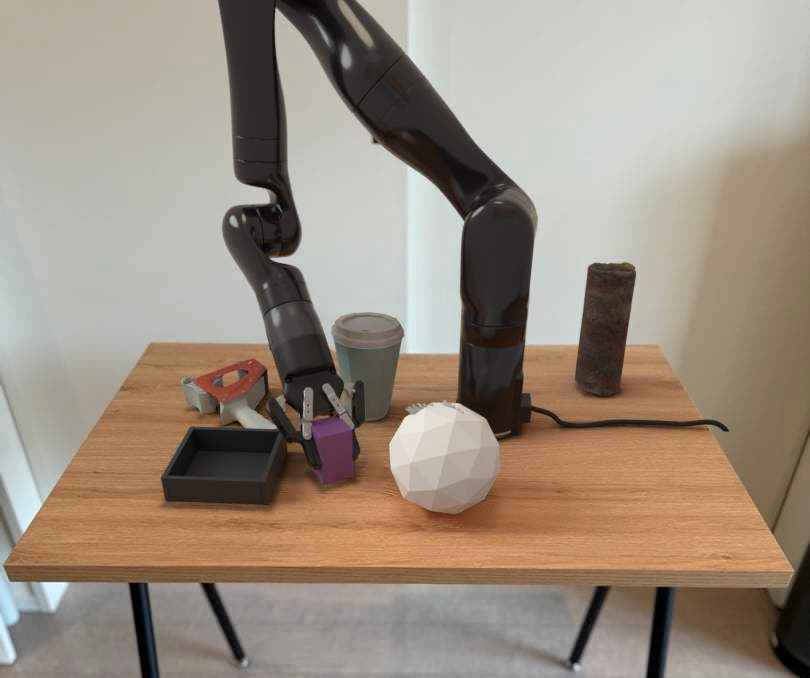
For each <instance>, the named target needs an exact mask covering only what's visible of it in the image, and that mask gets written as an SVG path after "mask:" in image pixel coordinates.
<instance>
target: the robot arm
mask: <svg viewBox="0 0 810 678" xmlns="http://www.w3.org/2000/svg"><path fill="white" fill-rule="evenodd" d="M217 3H218V9H219V17H220V23H221V29H222V36H223V42H224V43H223V45H224V50H225V59H226V66H227V77H228V88H229V101H230V102H229V104H230V105H229V106H230V125H231V126H230V128H231V143H232V144H231V148H232V150H231V151H232V168H233V173H234V174H233V175H234V177H235V179H236V180H237V181H238V182H239V183H241V184H243V185H245V186H248V187H252V188H257V189H262V190H266V192H267V195H268V197H269V202H267V203H266V202H265V203H248V204H247V203H246V204H236V205H233V206H231V207H229V208H228V209H227V210H226V211H225V213H224V215H223V217H222V221H221V233H222V238H223V242H224V244H225V247H226V249H227V251H228V253H229V255H230V256H231V258H232V259H233V261H234V262H235V264H236V265H237V267H238V269H239V270H240V271H241V273H242V275H243V276H244V278H245V279H246V281H247V283H248V284H249V286H250V287H251V289H252V291H253V293H254V295H255V298H256V301H257V305H258V308H259V310H260V314H261V317H262V321H263V324H264V329H265V335H266V339H267V342H268V348H269V350H270V352H271V356H272V357H273V360H274V364H275V368H276V370H277V373H278V377H279V380H280V383H281V386H282V393H281V395H279V396H277V397H275V398H274V397H271V398H269V399H268V401H267V403H266V405H265V411H266V413H267V414H268V416H269V418H270V420H271V422H272V423H273V424H274V425H276V427H277V428H278V430H279V431H280V433H281V434H282V436H283V437H284V439H285V440H286V444H293V443H295V444H299V445H301V447H302V450H303V453H304V456H305V459H306V462H307V465H308V466H309V467H310V468H311V467H314V470H315V471H316V470H320V469H321V468H322V467H323V464H322V461H321V459H320V456H319V452H318V449H317V446H316V443H315V440H314V439H312V430H311V426H312V422H313V421H314V420H315V419H316V418H318V417H333V416H337V417H338V418H340V419H343V420H344V422H345V423H346V424H347V425H348V426H349V427H350V428H351V430H352V443H353V462H356V461H357V460H358V459H359V455H360V454H361V446H360V444H359V439H358V438H357V435H356V429H359V428H360V427H361V426H362V424H363V423H364V422H366V421H365V398H364V383H363V382H362V381H361V380H358V381H356V383H351V382H343V380H342V379H341V378H340V374H339V373H338V372H337V367H336V365H335V361H334V358H333V356H332V352H331V349H330V346H329V343H328V340H327V337H326V334H325V332H324V327H323V325H322V321H321V319H320V316H319V314H318V312H317V311H316V308H315V306H314V303H313V300H312V296H311V294H310V291H309V287H308V284H307V281H306V278H305V276H304V273H303V272H302V270H301V269H300V268H299V267H297V266H295V265H292V264H288V263H284V262H278V261H275V260H273V259H279V258H288V257H291V256H293V255H294V254H295V253H296V252H297V251H298V250H299V248H300V246H301V244H302V243H301V242H302V239H303V227H302V223H301V218H300V214H299V211H298V208H297V205H296V200H295V197H294V192H293V188H292V183H291V178H290V171H289V136H288V135H289V134H288V133H289V132H288V116H287V115H288V113H287V104H286V99H285V92H284V87H283V82H282V77H281V73H280V67H279V61H278V55H277V43H276V10H278V11H279V12H280V13H281V14H282V16H283V17H285V19H286V20H287V21H288V22H289V23H290V25H292V26H293V27H294V28H295V29H296V31H297V32H299V35H301V36H302V37H303V39H304V40H305V42H306V43H307V45H308V47H310V49H311V51H312V52H313V55H314V56H315V58H316V59H317V61H318V63H319V65H320V67H321V68H322V70H323V72H324V74H325V76H326V78H327V80H328V82H329V83H330V85H331V86H332V88H333V90H334V91H335V93H336V94H337V96H338V97H339V99H340V100H341V102H342V103H343V104H344V105H345V107H346V108H347V109H348V111H349V112H350V113H351V114H352V115H353V116H354V117H355V119H356V120H357V121H358V123H360V124H361V126H363V128H364V130H366V131H367V132H368V133H369V134H370V136H371V137H372V138H373V139H374V140H375V141H376V142H378V144H379V145H381V147H383V149H385V150H386V151H387V152H388V153H390V154H391V155H393V156H394V157H395V158H397V159H398V160H399V161H401V163H403V164H405V165H406V166H408V167H409V168H411V169H412V170H414V171H415V172H417V173H419V174H420V175H421V176H422V177H424V178H426V179H427V180H428V181H429V182H430V183H432V184H433V186H434V187H436V188H437V189H438V190H439V191H440V192H441V193H442V195H443V196H444V197H445V199H447V201H448V202H449V203H450V205H451V206H452V207H453V208H454V210H455V211H456V213H457V214H458V215H459V217H460V218H461V220H462V221H463V225H462V230H461V239H460V262H459V263H460V265H459V298H460V330H459V331H460V332H459V349H458V351H459V352H458V371H457V373H458V374H457V394H456V395H457V396H456V400H455V403H459V404H461V405H463V406H465V407H466V408H468V409H470V410H472V411H473V412H475V413H477V414H479V415H480V416H482V417H484V418H485V419H486V420H487V422H488V424H489V426H490V428H491V430H492V432H493V434H494V436H495V438H496V440H500V439H504V438H508V437H510V436H518V435H519V431H520V423H521V424H530V423H531V417H532V412H533V413H537V414H541V415H544V416H546V417H549V418H550V419H552V420H553V421H554V423H556V424H557V425H559V426H561V427H565V428H569V429H584V428H585V429H586V428H597V427H605V426H607V427H608V426H619V425H620V426H626V425H627V426H631V425H633V426H658V427H660V426H661V427H682V428H683V427H696V426H714V427H717V428H719V429H720V430H721V431H722V432H725V433H729V432H730V429H729V428H728V427H727V426H726V425H725V424H724V423H722V422H721V421H718V420H715V419H708V418H707V419H696V420H686V421H685V420H683V421H679V420H661V419H659V420H658V419H627V418H625V419H622V418H620V419H619V418H618V419H617V418H616V419H606V420H597V421H591V422H569V421H565V420H562V419H561V418H560V417H559V416H558V415H557V414H556V413H554V412H553V411H550V410H548V409H545V408H542V407H537V406H533V405H532V398H531V393H530V392H523V390H524V379H525V374H524V362H525V353H526V352H525V351H526V343H527V342H526V341H527V330H528V321H529V309H530V298H531V297H530V294H531V293H530V292H531V280H532V270H533V259H534V251H535V250H534V249H535V241H536V240H535V239H536V236H537V231H538V226H539V217H538V211H537V208H536V205H535V204H534V201H533V200H532V198H531V197H530V196H529V195H528V193H527V192H526V191H525V190H524V189H523V188H522V187H521V186H520V185H519V184H517V182H515V180H513V178H511V177H510V176H509V175H508V174H507V173H506V172H504V170H503V169H501V167H500V166H499V165H498V164H496V162H495V161H493V159H492V158H491V157H490V156H489V155H488V154H486V153H485V151H484V150H483V149H482V148H481V147H480V146H479V145H478V144H477V143H476V141H475V140H474V139H473V138H472V137H471V134H469V133H468V131H467V130H466V128H465V127H464V126H463V124H462V123H461V121H460V120H459V118H458V117H457V115H456V114H455V113H454V112H453V110H452V109H451V107H450V106H449V105H448V104H447V102H446V101H445V100H444V98H443V97H442V96H441V95H440V94H439V92H438V91H437V90H436V88H435V87H434V86H433V85H432V82H431V81H430V80H429V79H428V78H427V77H426V75H425V74H424V73H423V71H421V70H420V68H419V67H418V66H417V65H416V63H415V61H413V60H412V58H411V57H409V55H408V54H407V53H406V52H405V51H404V49H403V48H402V47H401V46H400V45H399V44H398V42H396V40H394V38H393V37H392V36H391V35H390V34H389V32H388V31H386V29H384V27H383V26H382V25H381V24H380V23H379V22H378V21H377V20H376V19H375V18H374V17H373V15H372V14H371V13H370V12H369V11H367V10H366V8H365V7H364V6H363V5H362V4H361V3H359V1H357V0H217ZM343 391H345V392H346V394H347V397H348V398H349V399H351V408H352V417H351V416H349V413H348V412H347V409H346V406H345V405H344V404H343V403H342V401H341V397H342V395H343ZM286 405H287V406H289V407H290V408H292V410H294V411H295V412H296V413H297V414H298V428H299V430H297V429H296V427H295V426H294V424H293V423H292V421H291V420H290V418H289V417H288V415H287V414H286V410H287V407H286Z"/></svg>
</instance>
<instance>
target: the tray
mask: <svg viewBox="0 0 810 678" xmlns="http://www.w3.org/2000/svg"><path fill="white" fill-rule="evenodd" d="M287 453H288V443H287V442H286V440H285V439H284V437H283V436H282V434H281V433H280V431H279V430H278V429H256V428H244V427H226V426H225V427H224V426H223V427H221V426H194V425H193V426H192V425H190V426H189V427H188V429H187V431H186V433H185V435H184V436H183V437H182V440H181V442H180V444H179V445H178V446H177V448H176V450H175V452H174V454H173V456H172V457H171V459H170V460H169V463H168V464H167V466H166V467H165V470H164V471H163V473H162V474H161V476H160V481H161V485H162V490H163V494H164V499H165V502H175V503H177V502H178V503H199V504H201V503H202V504H203V503H204V504H206V503H207V504H231V505H254V506H269V504H270V501H271V498H272V497H273V496H272V495H273V493H274V490H275V487H276V484H277V481H278V479H279V476H280V473H281V471H282V468H283V465H284V462H285V460H286V456H287Z"/></svg>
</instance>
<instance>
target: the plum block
mask: <svg viewBox="0 0 810 678" xmlns="http://www.w3.org/2000/svg"><path fill="white" fill-rule="evenodd" d="M311 430H312V439H314V440H315V443H316V446H317V449H318V452H319V456H320V459H321V461H322V464H323V467H322V468H321V469H320V470H316V471H315V470H314V467H310V470H311V471H312V473H313V474H314V475H315V477H316V478H317V479H318V481H319V482H320V483H321V485H323V486H324V485H329V484H332V483H333V484H334V483H336V482H341V481H344V480H348V479H352V478H354V477H355V470H354V469H355V468H354V461H353V443H352V430H351V428H350V427H349V426H348V425H347V424H346V423H345V422H344V420H343V419H340V418H338V417H337V416H333V417H329V416H327V417H324V418H319V419H316V420H315V419H314V420H313V422H312V426H311Z"/></svg>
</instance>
